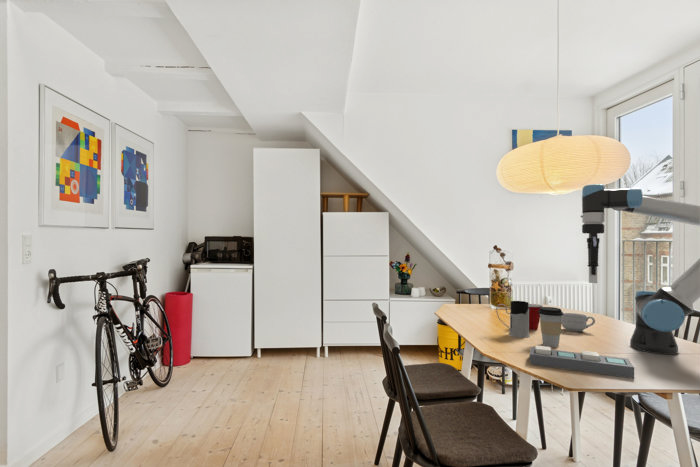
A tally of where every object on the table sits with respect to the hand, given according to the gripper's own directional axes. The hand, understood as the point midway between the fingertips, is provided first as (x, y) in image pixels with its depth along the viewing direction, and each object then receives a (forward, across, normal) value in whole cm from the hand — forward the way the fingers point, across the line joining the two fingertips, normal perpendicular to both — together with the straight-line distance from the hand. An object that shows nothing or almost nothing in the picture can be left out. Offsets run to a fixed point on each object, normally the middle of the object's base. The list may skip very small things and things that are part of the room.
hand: (592, 282), depth 156 cm
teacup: (+27, -32, -3) cm, 42 cm away
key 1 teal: (+25, +27, +4) cm, 37 cm away
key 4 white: (+24, +27, -18) cm, 40 cm away
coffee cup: (+27, +1, -15) cm, 31 cm away
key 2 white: (+24, +27, -4) cm, 36 cm away
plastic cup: (+27, -27, -23) cm, 44 cm away
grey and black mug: (+27, -10, -30) cm, 41 cm away
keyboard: (+26, +27, -7) cm, 38 cm away
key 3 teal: (+25, +27, -11) cm, 38 cm away
